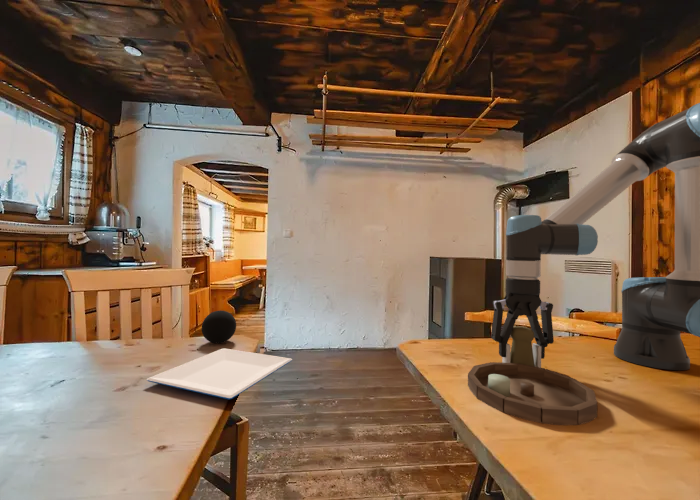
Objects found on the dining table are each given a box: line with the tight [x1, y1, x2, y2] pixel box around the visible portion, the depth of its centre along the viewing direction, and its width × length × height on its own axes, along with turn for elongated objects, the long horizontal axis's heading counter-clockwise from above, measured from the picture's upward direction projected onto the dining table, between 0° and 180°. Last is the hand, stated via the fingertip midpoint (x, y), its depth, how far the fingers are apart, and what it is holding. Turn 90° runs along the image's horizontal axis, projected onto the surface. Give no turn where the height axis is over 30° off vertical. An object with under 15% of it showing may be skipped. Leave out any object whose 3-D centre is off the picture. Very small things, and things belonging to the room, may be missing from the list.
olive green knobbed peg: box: [510, 325, 535, 367], centre depth 76 cm, size 6×6×11 cm
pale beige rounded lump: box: [488, 374, 510, 397], centre depth 62 cm, size 4×4×3 cm
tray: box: [467, 361, 598, 426], centre depth 62 cm, size 22×22×3 cm
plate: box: [146, 347, 293, 400], centre depth 71 cm, size 22×22×2 cm
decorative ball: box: [201, 310, 237, 344], centre depth 96 cm, size 10×10×10 cm
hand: (521, 370), depth 76 cm, fingers open, 7 cm apart
